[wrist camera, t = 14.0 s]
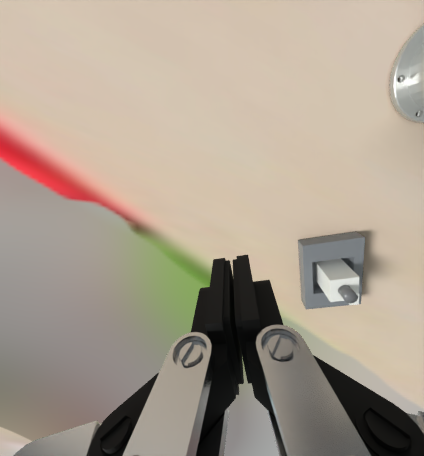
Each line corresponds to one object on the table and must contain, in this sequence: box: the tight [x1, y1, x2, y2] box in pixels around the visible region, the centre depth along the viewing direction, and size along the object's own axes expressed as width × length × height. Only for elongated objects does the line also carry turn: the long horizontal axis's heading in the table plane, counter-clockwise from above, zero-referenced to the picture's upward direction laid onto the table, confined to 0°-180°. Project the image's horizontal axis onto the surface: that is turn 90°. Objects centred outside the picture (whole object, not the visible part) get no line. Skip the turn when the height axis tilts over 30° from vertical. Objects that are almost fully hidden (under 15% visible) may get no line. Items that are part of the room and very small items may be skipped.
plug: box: [315, 259, 359, 303], centre depth 35 cm, size 4×4×8 cm
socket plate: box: [298, 232, 365, 309], centre depth 38 cm, size 10×14×3 cm
